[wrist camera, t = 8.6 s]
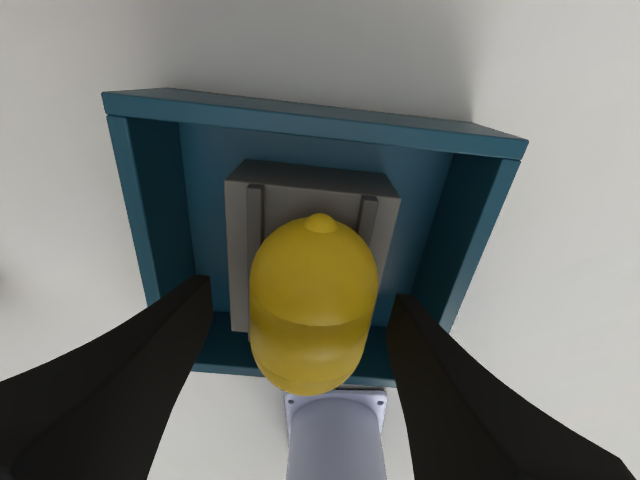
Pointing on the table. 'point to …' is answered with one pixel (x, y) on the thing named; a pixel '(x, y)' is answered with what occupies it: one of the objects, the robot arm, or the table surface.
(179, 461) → the table surface
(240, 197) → the grey block
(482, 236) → the crate
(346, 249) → the lemon
